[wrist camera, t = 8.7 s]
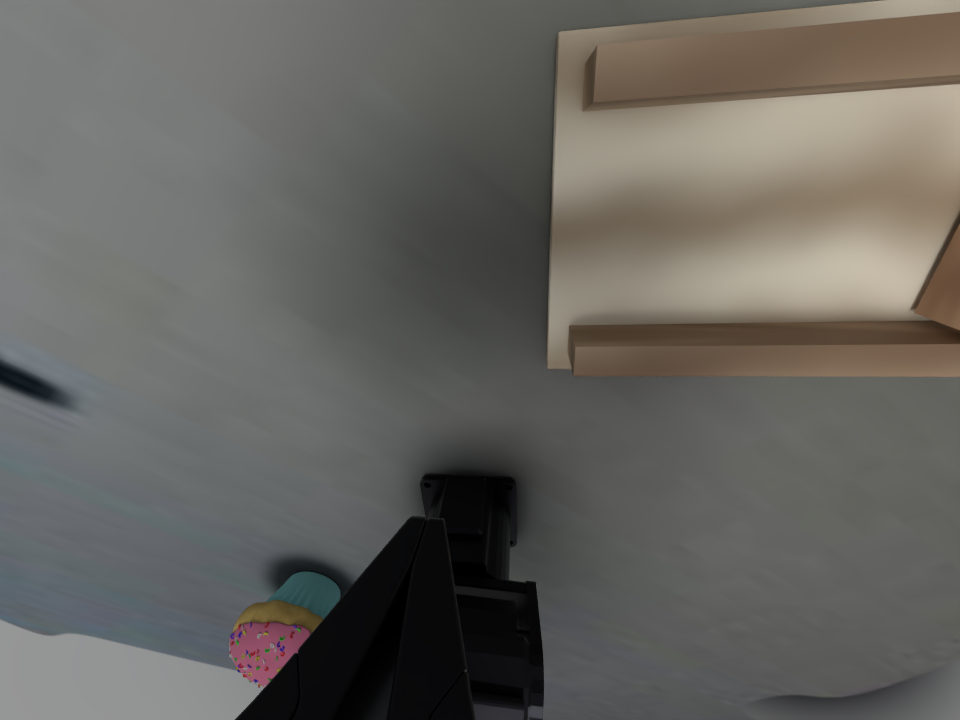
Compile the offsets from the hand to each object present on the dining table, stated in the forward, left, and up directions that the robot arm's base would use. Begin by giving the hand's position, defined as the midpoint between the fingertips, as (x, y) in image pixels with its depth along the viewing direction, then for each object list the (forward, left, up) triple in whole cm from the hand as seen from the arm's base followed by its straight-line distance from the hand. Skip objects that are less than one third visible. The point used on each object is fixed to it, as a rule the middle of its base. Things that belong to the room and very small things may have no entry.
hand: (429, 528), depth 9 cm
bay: (+5, -19, -13) cm, 23 cm away
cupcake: (-25, +16, -13) cm, 33 cm away
